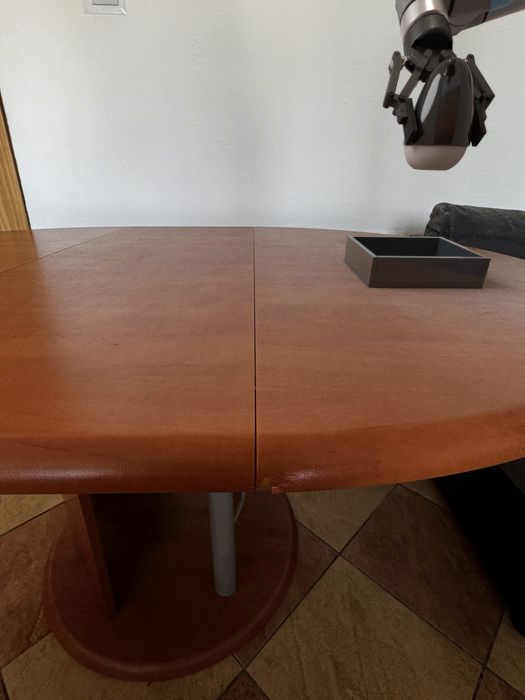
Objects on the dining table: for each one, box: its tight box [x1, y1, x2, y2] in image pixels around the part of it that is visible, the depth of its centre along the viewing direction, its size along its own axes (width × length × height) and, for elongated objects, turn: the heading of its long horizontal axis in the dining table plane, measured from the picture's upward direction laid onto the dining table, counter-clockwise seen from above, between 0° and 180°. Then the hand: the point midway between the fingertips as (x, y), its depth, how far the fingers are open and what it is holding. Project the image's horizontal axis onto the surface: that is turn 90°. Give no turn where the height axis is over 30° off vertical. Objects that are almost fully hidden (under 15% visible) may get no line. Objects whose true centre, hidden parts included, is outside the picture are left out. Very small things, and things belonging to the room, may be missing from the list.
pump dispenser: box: [402, 56, 474, 172], centre depth 60 cm, size 10×10×15 cm
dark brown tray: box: [343, 235, 492, 289], centre depth 66 cm, size 19×17×5 cm
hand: (445, 138), depth 58 cm, fingers closed on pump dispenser, 10 cm apart
